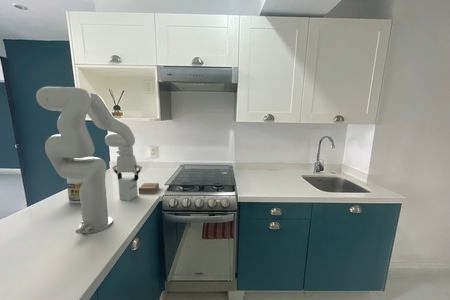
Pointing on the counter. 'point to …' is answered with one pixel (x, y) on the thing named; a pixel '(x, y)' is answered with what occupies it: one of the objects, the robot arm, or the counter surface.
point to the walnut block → (148, 188)
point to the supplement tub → (74, 189)
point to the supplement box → (127, 188)
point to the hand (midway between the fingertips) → (128, 180)
